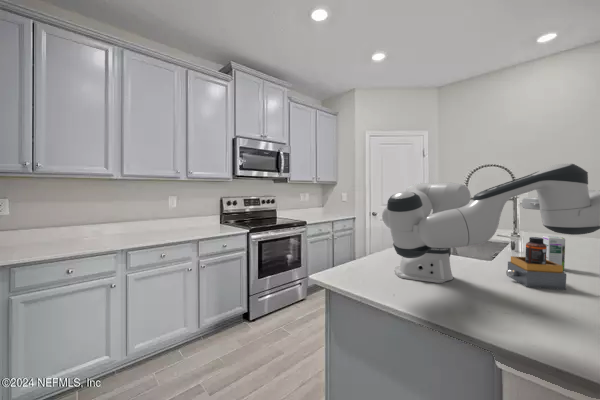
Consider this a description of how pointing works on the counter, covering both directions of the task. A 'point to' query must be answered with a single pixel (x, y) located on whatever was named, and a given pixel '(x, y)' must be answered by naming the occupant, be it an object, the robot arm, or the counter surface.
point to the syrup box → (555, 249)
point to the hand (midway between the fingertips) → (547, 202)
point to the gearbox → (537, 274)
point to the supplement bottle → (535, 251)
